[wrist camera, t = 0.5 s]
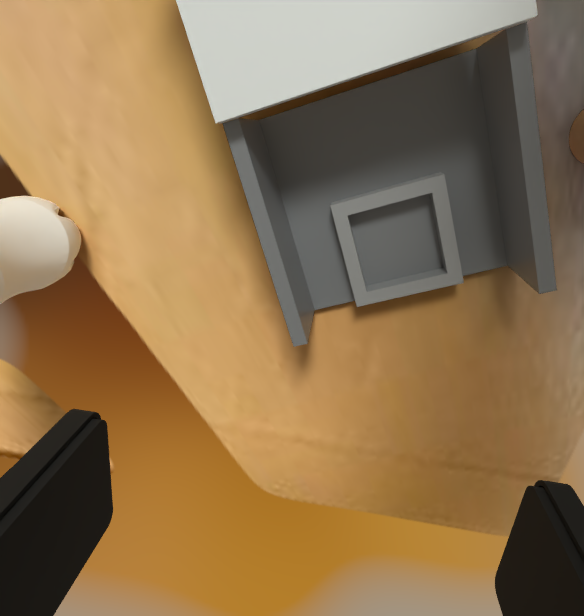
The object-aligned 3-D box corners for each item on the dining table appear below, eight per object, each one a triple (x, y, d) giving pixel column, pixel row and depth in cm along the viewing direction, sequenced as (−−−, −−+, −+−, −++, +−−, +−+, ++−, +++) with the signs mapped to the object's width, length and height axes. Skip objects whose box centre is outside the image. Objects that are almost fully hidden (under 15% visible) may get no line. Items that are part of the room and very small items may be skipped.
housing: (248, 124, 34) (222, 123, 27) (488, 45, 30) (526, 21, 24) (303, 309, 39) (293, 346, 32) (518, 259, 35) (556, 290, 28)
